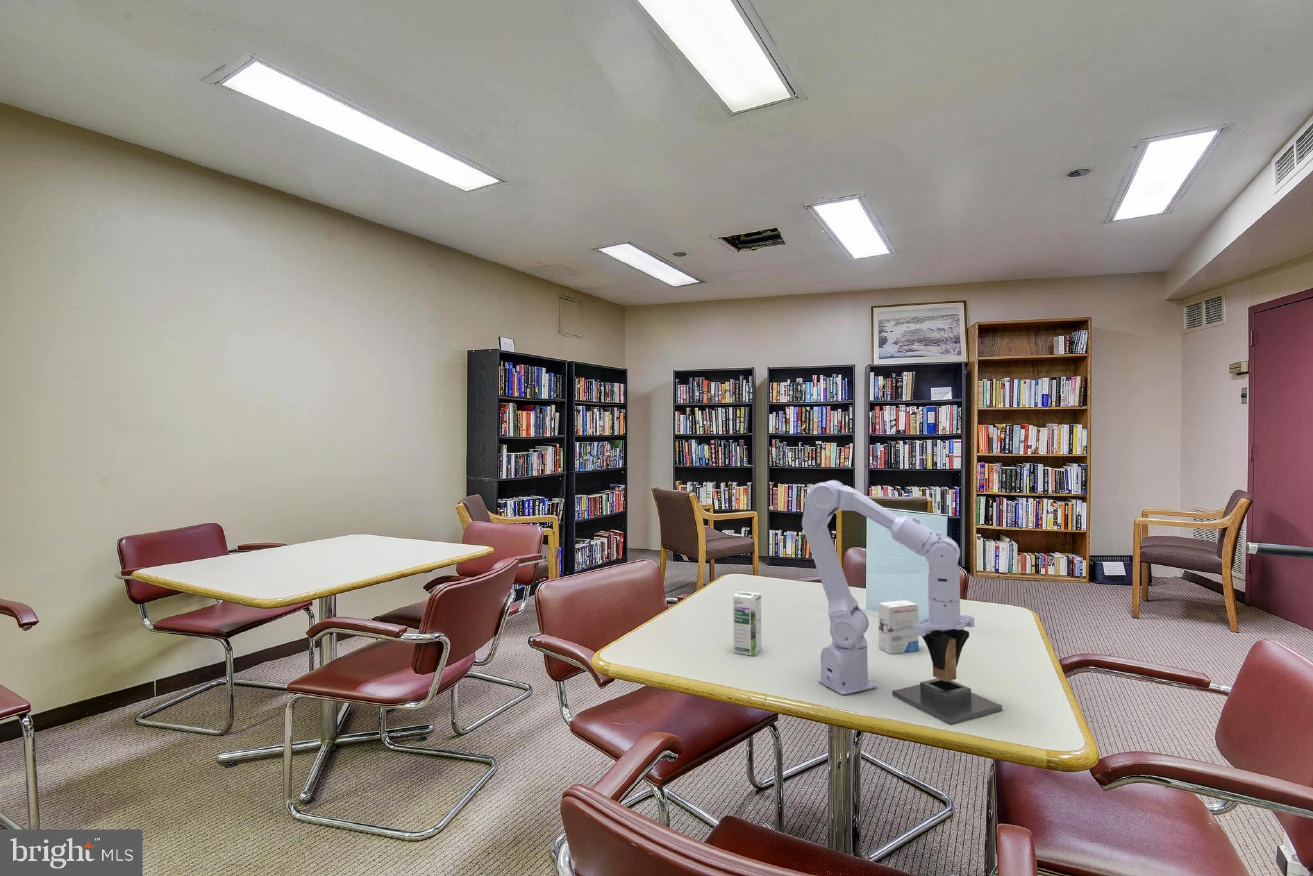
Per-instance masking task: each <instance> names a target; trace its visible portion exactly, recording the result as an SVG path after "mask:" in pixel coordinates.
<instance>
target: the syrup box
mask: <svg viewBox="0 0 1313 876" xmlns="http://www.w3.org/2000/svg"><path fill="white" fill-rule="evenodd" d="M732 606H733V608H732V610H733V613H732V614H733V654H739V655H741V654H742V655H745V656H751V657H752V656H753V657H755V656H756V655H757V654H758V653H760V651H761V650H762V593H761V592H760V593H759V592H749V591H743V590H739V591H738V592H736V593H734V595H733V596H732Z"/></svg>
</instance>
